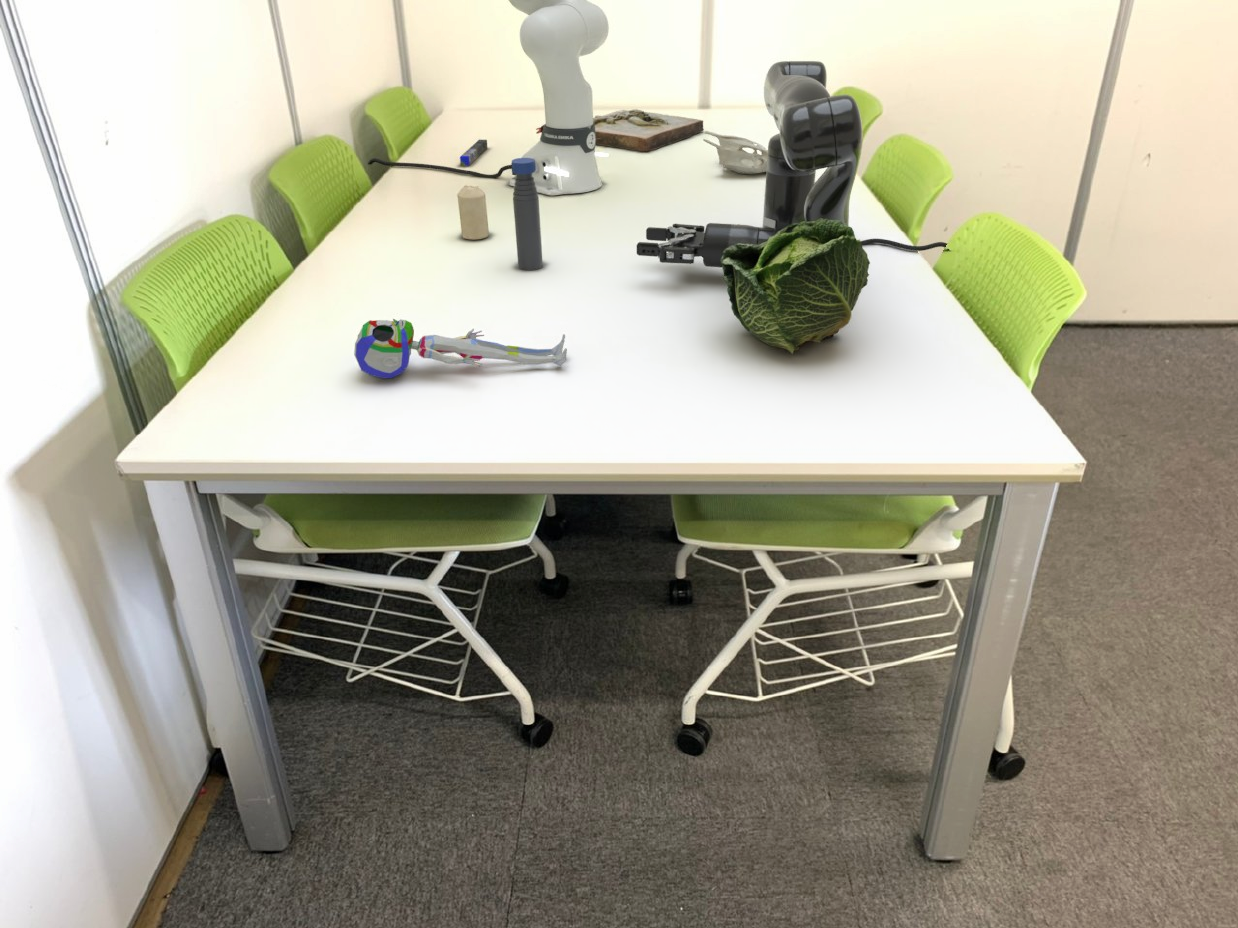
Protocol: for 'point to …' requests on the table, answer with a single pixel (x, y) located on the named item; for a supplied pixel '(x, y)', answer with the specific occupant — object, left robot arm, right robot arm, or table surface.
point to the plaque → (643, 129)
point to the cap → (523, 166)
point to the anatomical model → (740, 154)
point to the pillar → (473, 152)
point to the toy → (435, 349)
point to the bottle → (527, 222)
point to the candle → (473, 212)
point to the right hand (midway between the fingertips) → (641, 241)
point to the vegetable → (797, 282)
